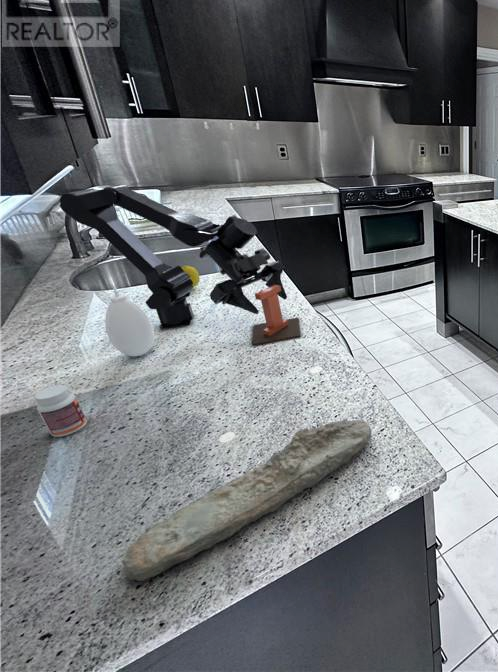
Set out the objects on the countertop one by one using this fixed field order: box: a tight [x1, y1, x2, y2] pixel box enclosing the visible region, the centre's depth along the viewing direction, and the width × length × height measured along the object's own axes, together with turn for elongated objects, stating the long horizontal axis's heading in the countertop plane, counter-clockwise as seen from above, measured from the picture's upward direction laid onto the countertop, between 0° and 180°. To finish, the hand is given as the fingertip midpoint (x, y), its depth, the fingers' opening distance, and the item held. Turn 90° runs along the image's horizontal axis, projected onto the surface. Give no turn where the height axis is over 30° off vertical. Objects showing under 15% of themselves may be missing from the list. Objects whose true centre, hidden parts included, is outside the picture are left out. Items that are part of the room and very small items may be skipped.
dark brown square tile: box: [251, 317, 302, 347], centre depth 109 cm, size 11×11×1 cm
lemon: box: [181, 265, 201, 290], centre depth 130 cm, size 6×6×8 cm
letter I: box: [254, 285, 288, 336], centre depth 107 cm, size 2×6×12 cm, turn 164°
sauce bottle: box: [104, 285, 156, 357], centre depth 94 cm, size 8×8×18 cm
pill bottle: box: [34, 384, 88, 438], centre depth 73 cm, size 5×5×8 cm
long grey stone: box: [121, 419, 372, 582], centre depth 64 cm, size 35×5×10 cm
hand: (272, 305), depth 106 cm, fingers open, 9 cm apart
